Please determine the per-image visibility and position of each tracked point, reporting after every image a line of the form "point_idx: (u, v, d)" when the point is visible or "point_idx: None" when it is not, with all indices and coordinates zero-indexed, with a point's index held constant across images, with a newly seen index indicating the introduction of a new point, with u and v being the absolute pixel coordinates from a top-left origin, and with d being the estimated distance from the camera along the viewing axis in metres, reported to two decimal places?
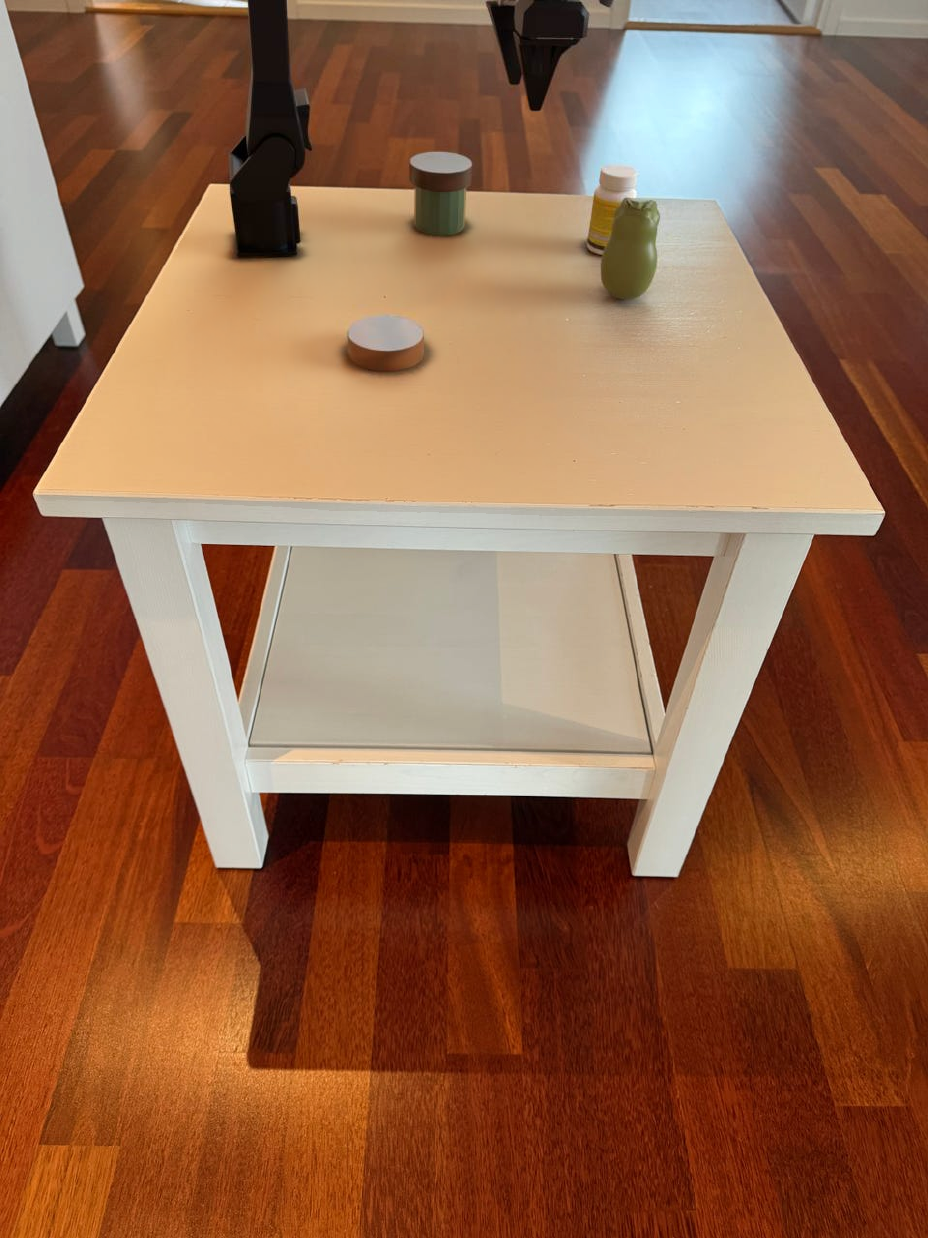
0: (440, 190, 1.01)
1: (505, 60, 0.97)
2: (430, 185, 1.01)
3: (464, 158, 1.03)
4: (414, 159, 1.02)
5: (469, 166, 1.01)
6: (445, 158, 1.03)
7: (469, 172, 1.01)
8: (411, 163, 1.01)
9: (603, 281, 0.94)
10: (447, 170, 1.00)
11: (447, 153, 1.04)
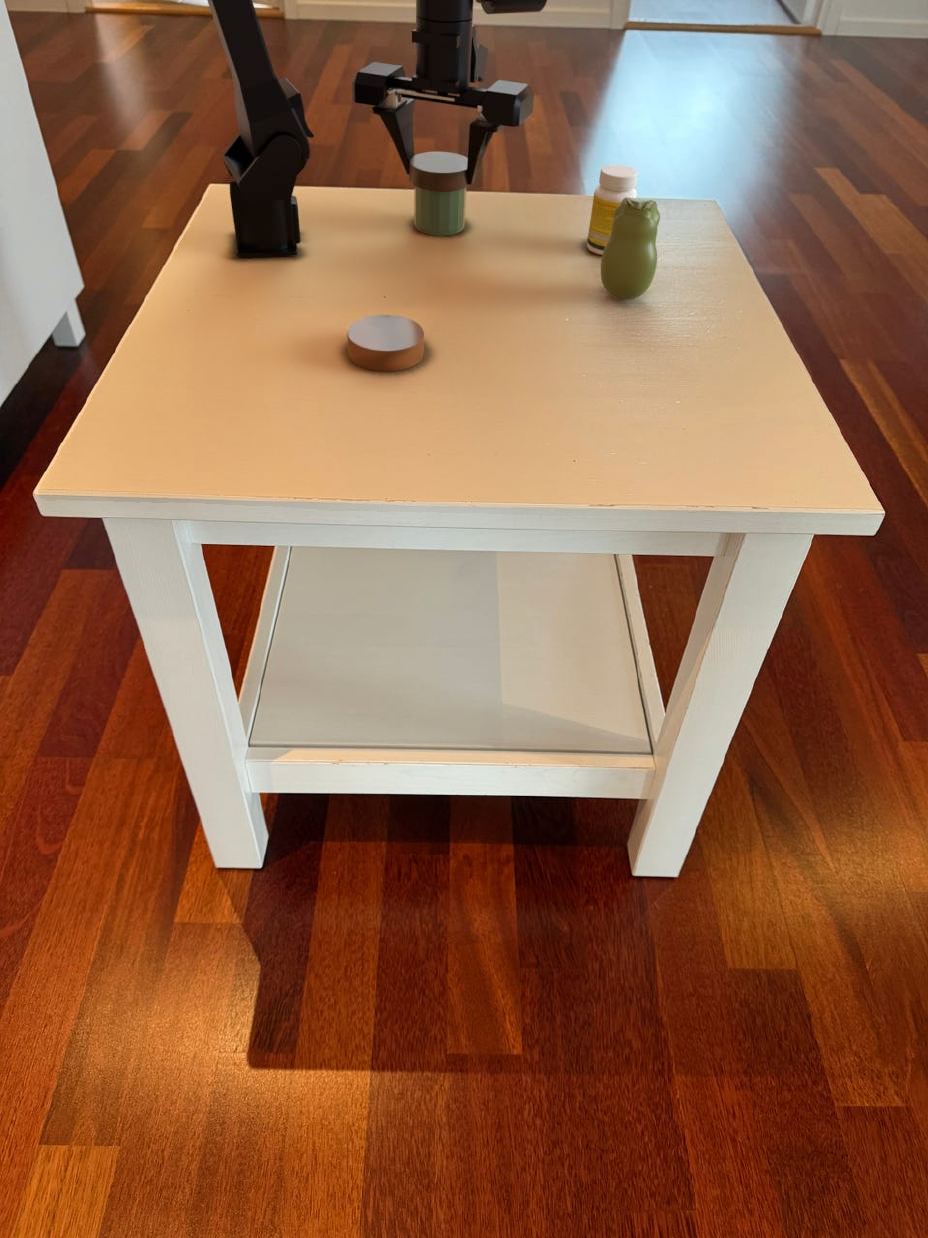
0: (440, 190, 1.01)
1: (407, 155, 1.02)
2: (430, 185, 1.01)
3: (464, 158, 1.03)
4: (414, 159, 1.02)
5: None
6: (444, 158, 1.03)
7: None
8: (411, 163, 1.01)
9: (603, 281, 0.94)
10: (447, 170, 1.00)
11: (447, 153, 1.04)
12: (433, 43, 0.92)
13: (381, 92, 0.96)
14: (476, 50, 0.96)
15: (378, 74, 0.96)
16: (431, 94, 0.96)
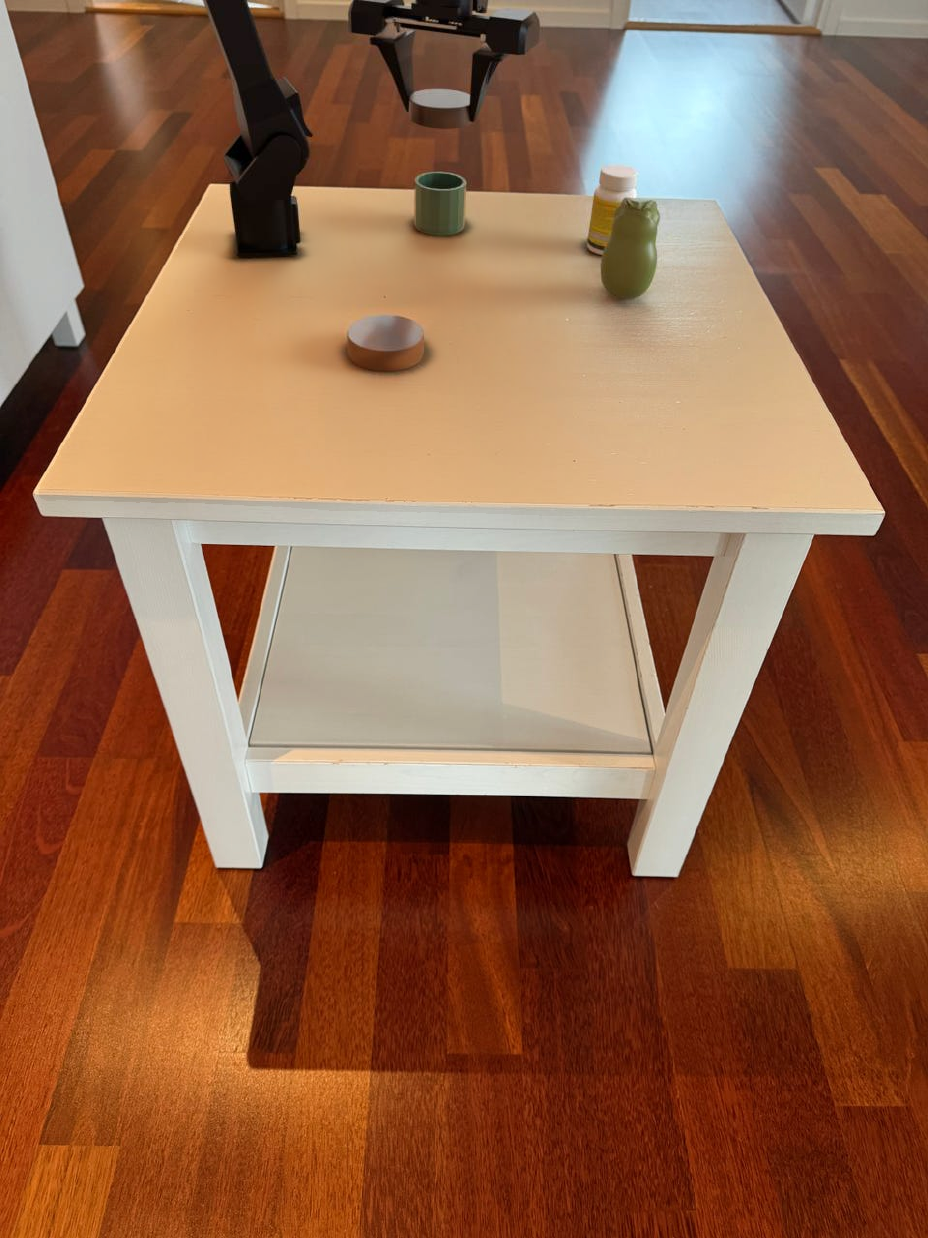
0: (441, 127, 0.96)
1: (406, 90, 0.97)
2: (431, 121, 0.96)
3: (466, 94, 0.98)
4: (414, 95, 0.97)
5: None
6: (446, 95, 0.98)
7: None
8: (410, 99, 0.96)
9: (603, 281, 0.94)
10: (448, 105, 0.95)
11: (448, 90, 0.99)
12: None
13: (379, 20, 0.91)
14: None
15: (376, 1, 0.91)
16: (432, 22, 0.91)
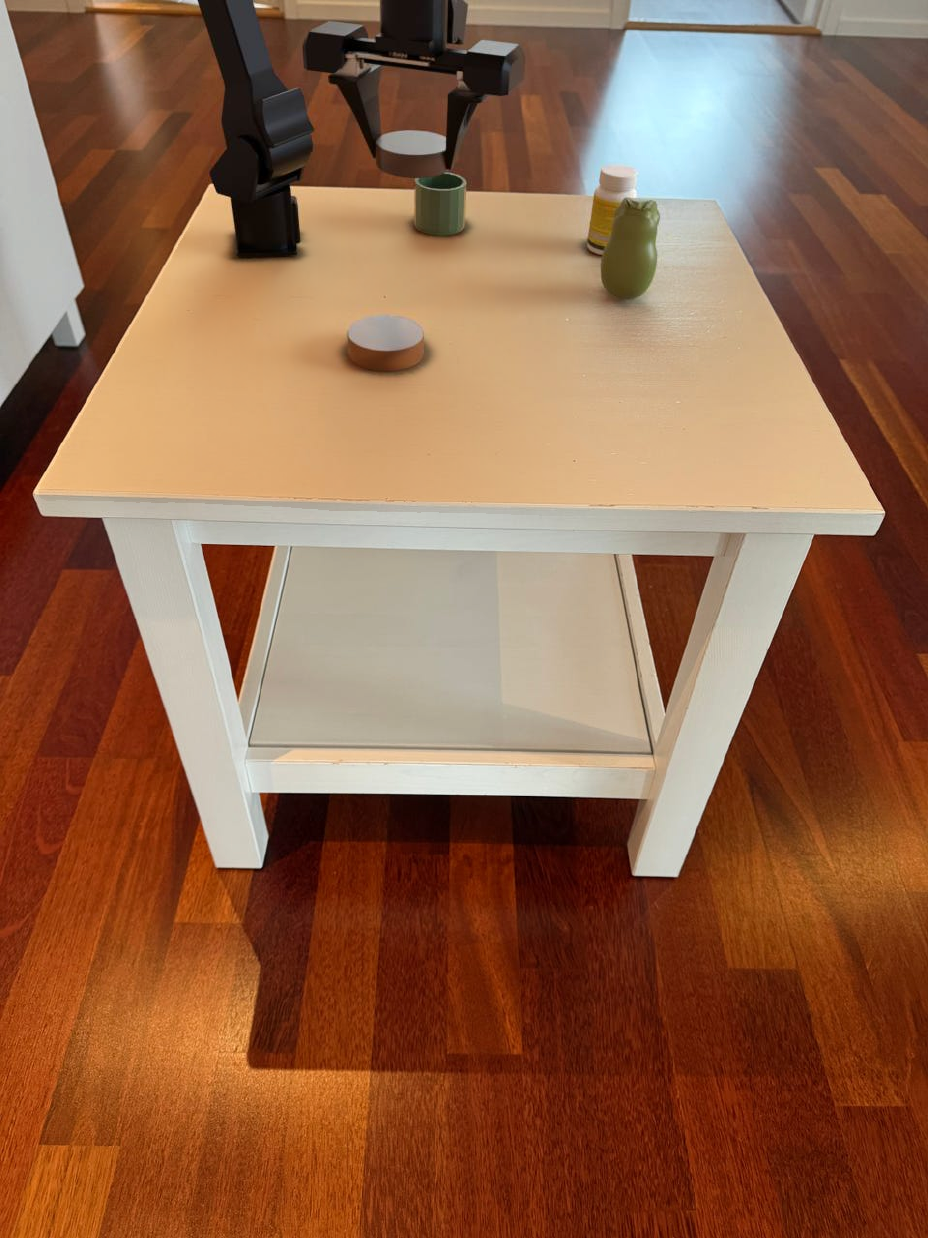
0: (413, 176, 0.83)
1: (372, 134, 0.84)
2: (401, 170, 0.83)
3: (441, 137, 0.86)
4: (381, 139, 0.85)
5: None
6: (418, 138, 0.85)
7: None
8: (377, 144, 0.84)
9: (603, 281, 0.94)
10: (421, 151, 0.82)
11: (421, 132, 0.86)
12: None
13: (338, 56, 0.78)
14: (453, 3, 0.78)
15: (334, 34, 0.78)
16: (400, 58, 0.78)
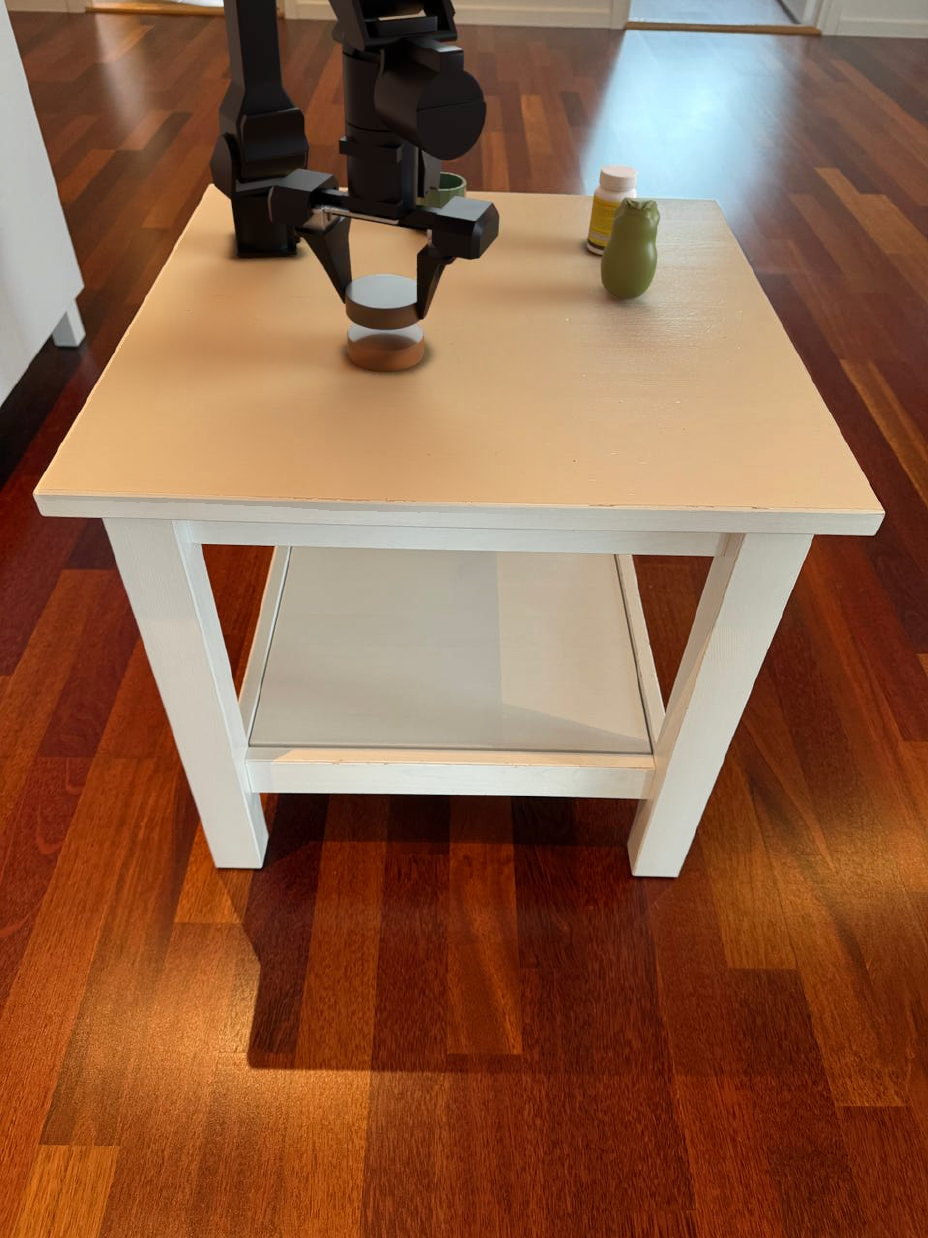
0: (383, 328, 0.80)
1: (342, 283, 0.81)
2: (370, 322, 0.80)
3: (415, 284, 0.82)
4: (351, 286, 0.81)
5: None
6: (390, 285, 0.82)
7: None
8: (347, 293, 0.80)
9: (603, 281, 0.94)
10: (391, 304, 0.79)
11: (394, 276, 0.83)
12: (366, 157, 0.71)
13: (304, 212, 0.75)
14: (425, 159, 0.75)
15: (300, 189, 0.75)
16: (368, 215, 0.75)
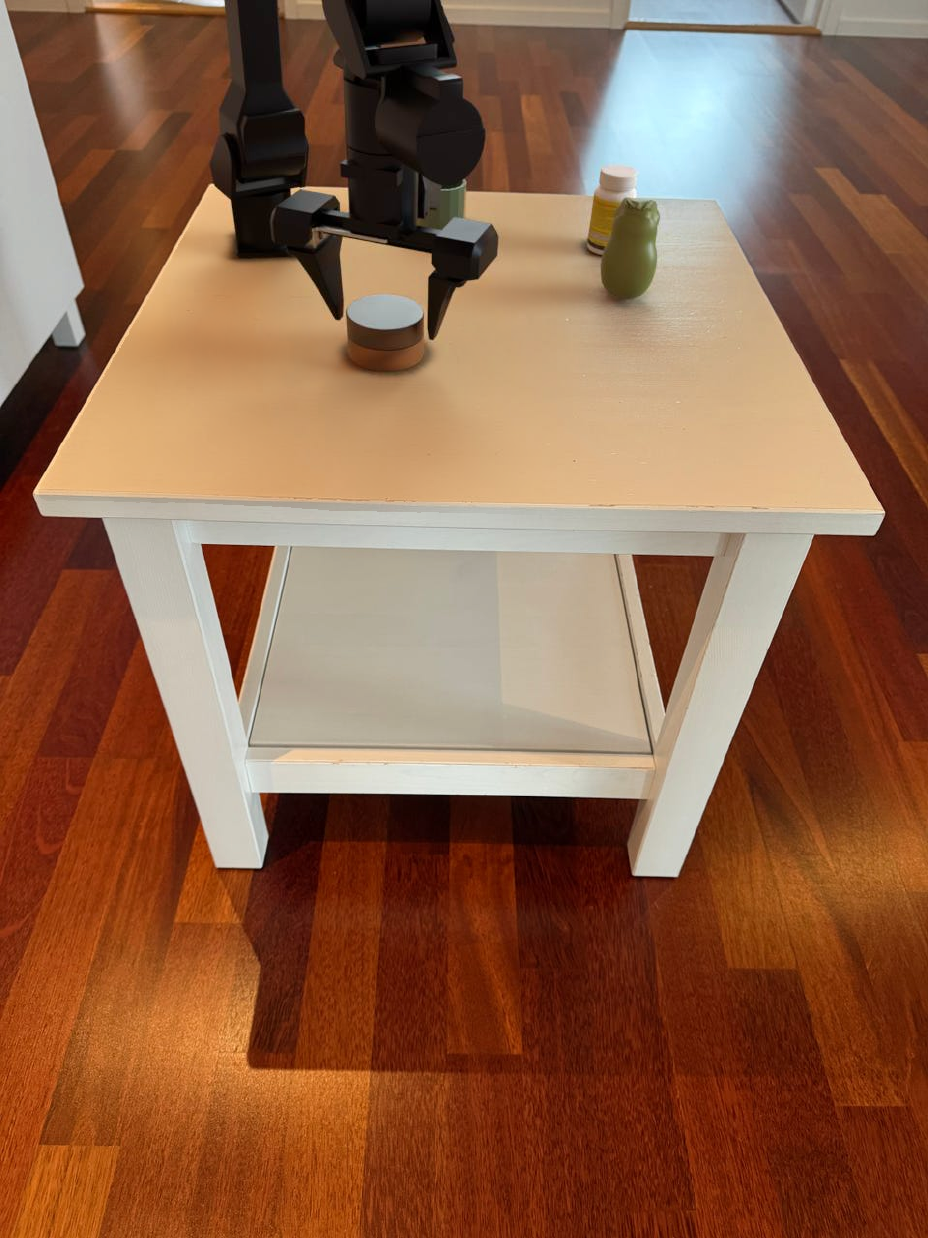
0: (383, 348, 0.81)
1: (333, 300, 0.82)
2: (371, 343, 0.81)
3: (415, 304, 0.83)
4: (353, 307, 0.83)
5: (420, 318, 0.82)
6: (390, 305, 0.83)
7: (420, 325, 0.82)
8: (348, 314, 0.82)
9: (603, 281, 0.94)
10: (392, 325, 0.81)
11: (394, 297, 0.84)
12: (367, 180, 0.72)
13: (306, 233, 0.76)
14: (425, 181, 0.76)
15: (302, 210, 0.76)
16: (358, 234, 0.77)
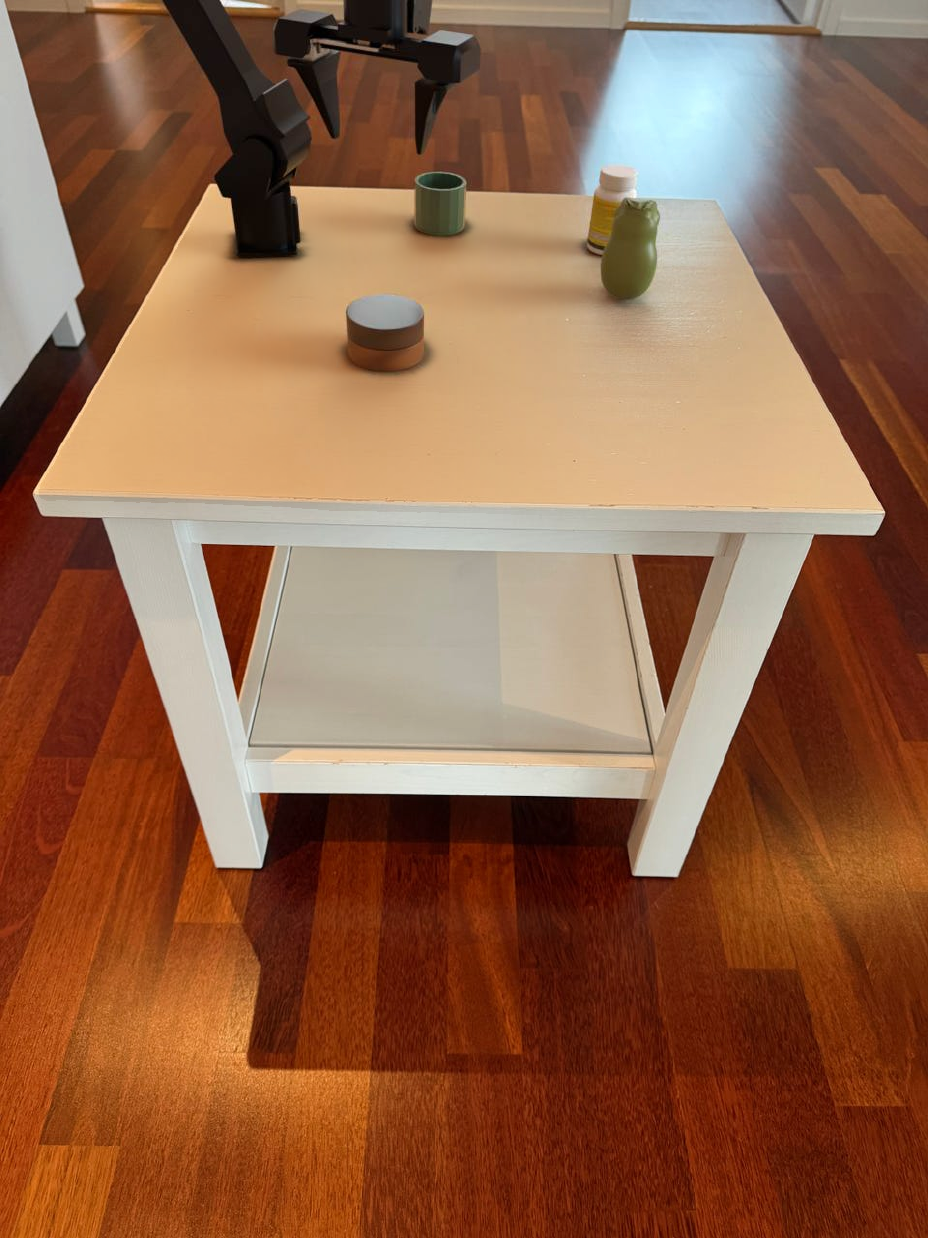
0: (383, 348, 0.81)
1: (329, 116, 0.89)
2: (371, 343, 0.81)
3: (415, 304, 0.83)
4: (353, 307, 0.83)
5: (420, 318, 0.82)
6: (390, 305, 0.83)
7: (420, 325, 0.82)
8: (348, 314, 0.82)
9: (603, 281, 0.94)
10: (392, 325, 0.81)
11: (394, 297, 0.84)
12: None
13: (304, 42, 0.83)
14: None
15: (301, 21, 0.83)
16: (352, 44, 0.84)
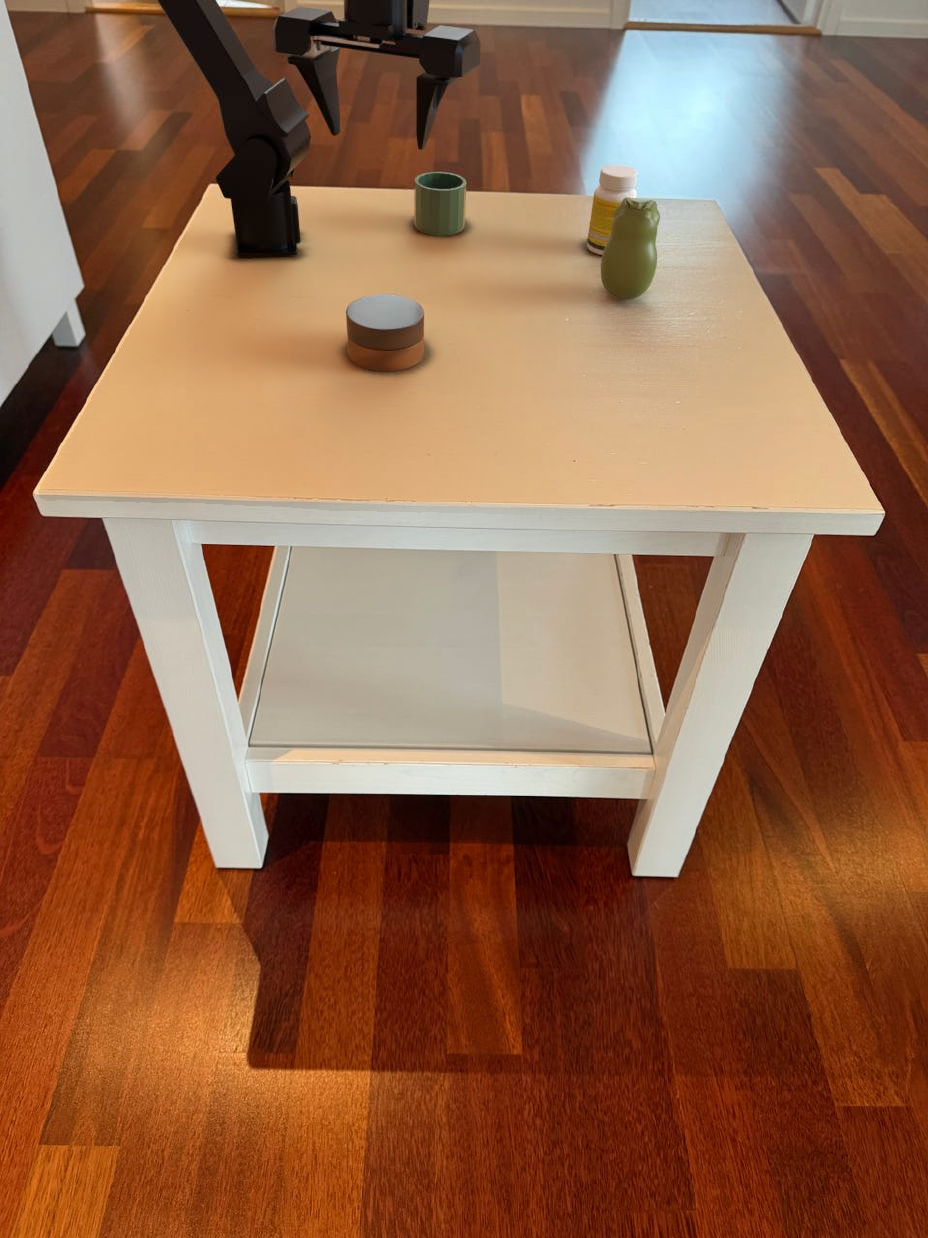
0: (383, 348, 0.81)
1: (330, 113, 0.89)
2: (371, 343, 0.81)
3: (415, 304, 0.83)
4: (353, 307, 0.83)
5: (420, 318, 0.82)
6: (390, 305, 0.83)
7: (420, 325, 0.82)
8: (348, 314, 0.82)
9: (603, 281, 0.94)
10: (392, 325, 0.81)
11: (394, 297, 0.84)
12: None
13: (305, 39, 0.84)
14: None
15: (301, 18, 0.84)
16: (353, 40, 0.84)
